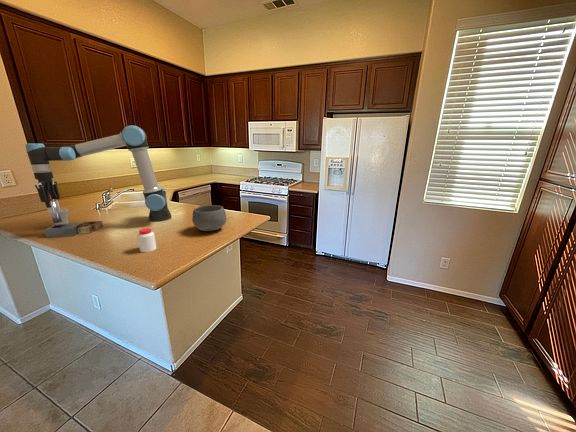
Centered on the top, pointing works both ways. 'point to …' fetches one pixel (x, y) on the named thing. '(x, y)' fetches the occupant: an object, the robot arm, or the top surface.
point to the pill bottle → (146, 240)
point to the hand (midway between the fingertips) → (54, 211)
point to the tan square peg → (84, 230)
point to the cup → (63, 216)
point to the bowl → (209, 217)
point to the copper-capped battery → (55, 216)
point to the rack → (93, 225)
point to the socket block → (62, 230)
